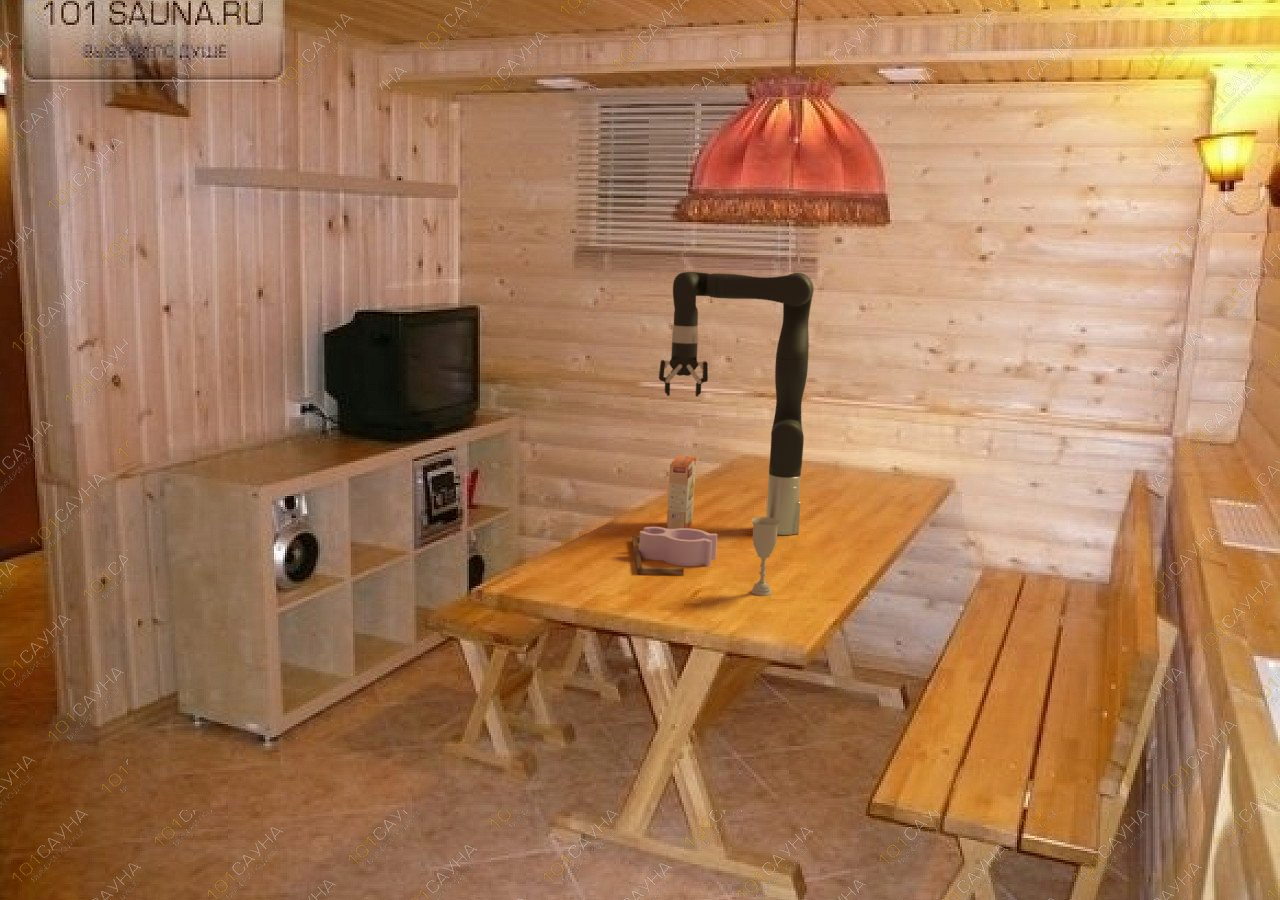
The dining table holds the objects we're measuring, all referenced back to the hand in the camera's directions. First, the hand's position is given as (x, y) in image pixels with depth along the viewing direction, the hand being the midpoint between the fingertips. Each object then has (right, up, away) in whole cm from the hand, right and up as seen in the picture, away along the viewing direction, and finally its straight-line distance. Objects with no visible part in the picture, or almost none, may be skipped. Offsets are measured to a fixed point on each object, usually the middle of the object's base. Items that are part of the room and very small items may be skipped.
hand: (682, 395), depth 320 cm
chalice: (+17, -51, -55) cm, 77 cm away
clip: (-3, -45, -30) cm, 54 cm away
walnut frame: (-8, -45, -30) cm, 55 cm away
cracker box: (-1, -40, -2) cm, 40 cm away
